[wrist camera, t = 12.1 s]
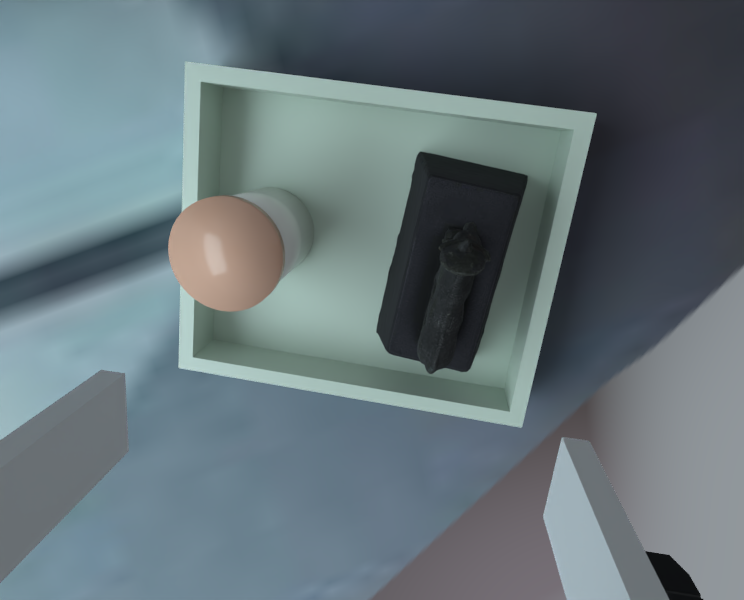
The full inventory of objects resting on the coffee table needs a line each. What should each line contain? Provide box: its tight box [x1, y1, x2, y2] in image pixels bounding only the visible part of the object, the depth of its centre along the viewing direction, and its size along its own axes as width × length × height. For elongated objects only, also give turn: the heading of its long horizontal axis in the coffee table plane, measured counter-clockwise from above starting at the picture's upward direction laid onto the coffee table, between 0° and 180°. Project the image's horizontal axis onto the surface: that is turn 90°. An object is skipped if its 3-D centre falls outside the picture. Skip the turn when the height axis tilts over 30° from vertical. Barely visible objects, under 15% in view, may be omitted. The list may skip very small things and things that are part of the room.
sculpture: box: [376, 151, 528, 374], centre depth 29 cm, size 8×13×15 cm, turn 165°
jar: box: [168, 187, 314, 312], centre depth 33 cm, size 6×6×9 cm
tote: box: [179, 62, 597, 428], centre depth 36 cm, size 20×24×4 cm
